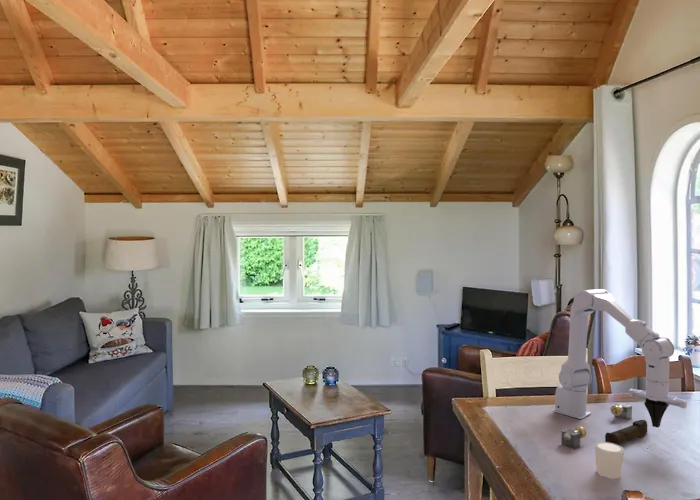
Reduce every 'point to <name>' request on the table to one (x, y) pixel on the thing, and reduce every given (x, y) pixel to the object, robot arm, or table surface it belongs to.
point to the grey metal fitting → (573, 437)
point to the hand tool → (627, 433)
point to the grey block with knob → (622, 410)
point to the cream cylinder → (609, 459)
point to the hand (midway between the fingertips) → (656, 426)
